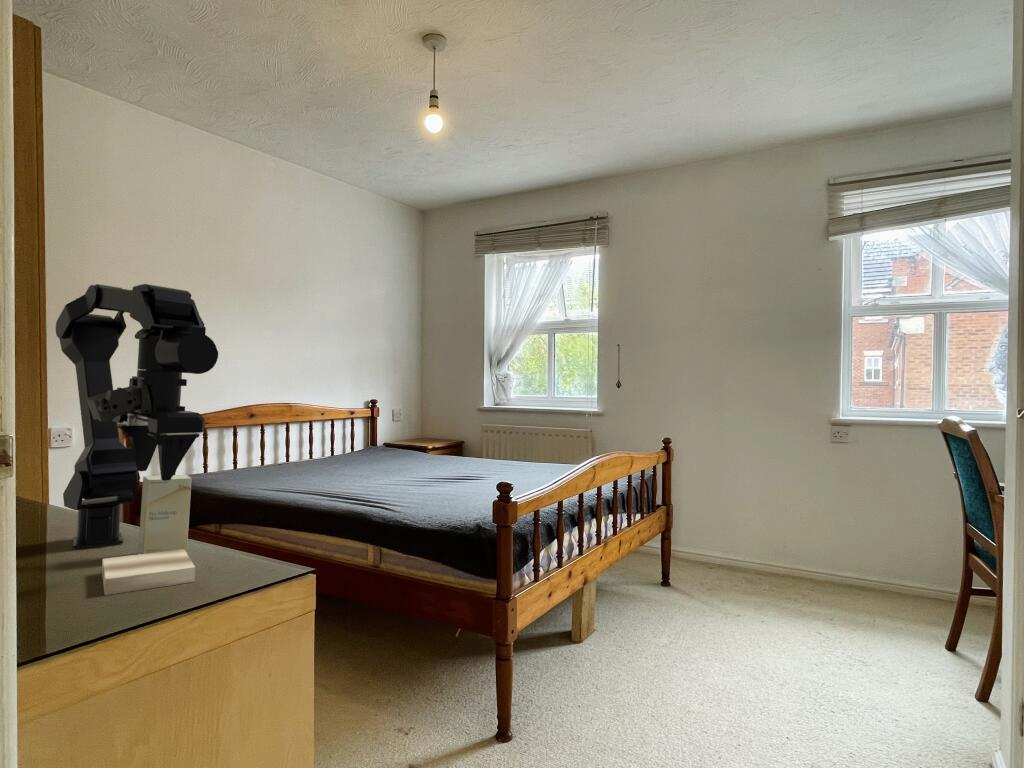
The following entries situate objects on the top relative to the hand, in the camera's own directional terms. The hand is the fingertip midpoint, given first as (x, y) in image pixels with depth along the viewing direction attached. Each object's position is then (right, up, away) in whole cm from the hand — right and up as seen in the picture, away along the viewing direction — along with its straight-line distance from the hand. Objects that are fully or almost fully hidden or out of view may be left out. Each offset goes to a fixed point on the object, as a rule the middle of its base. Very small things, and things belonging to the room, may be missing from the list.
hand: (153, 475), depth 85 cm
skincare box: (-1, -13, +4) cm, 14 cm away
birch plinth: (+3, -13, -6) cm, 15 cm away
